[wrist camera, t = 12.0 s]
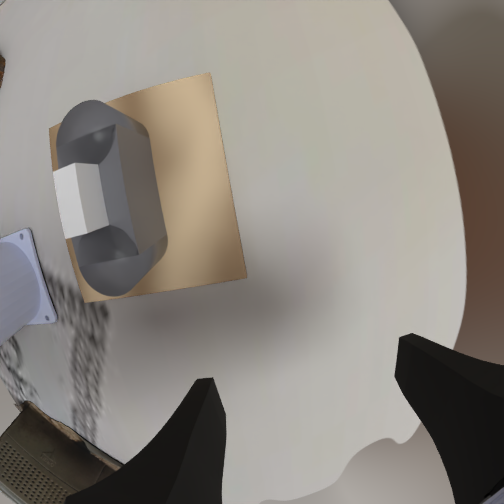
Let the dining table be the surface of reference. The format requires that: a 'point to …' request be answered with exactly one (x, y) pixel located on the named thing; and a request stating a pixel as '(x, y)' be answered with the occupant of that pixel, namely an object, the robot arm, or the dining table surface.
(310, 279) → the dining table surface
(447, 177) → the dining table surface
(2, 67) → the burger
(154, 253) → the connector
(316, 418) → the dining table surface
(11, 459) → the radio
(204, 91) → the oak board
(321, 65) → the dining table surface
